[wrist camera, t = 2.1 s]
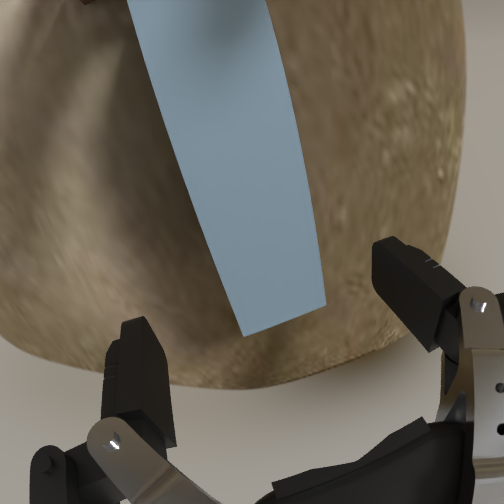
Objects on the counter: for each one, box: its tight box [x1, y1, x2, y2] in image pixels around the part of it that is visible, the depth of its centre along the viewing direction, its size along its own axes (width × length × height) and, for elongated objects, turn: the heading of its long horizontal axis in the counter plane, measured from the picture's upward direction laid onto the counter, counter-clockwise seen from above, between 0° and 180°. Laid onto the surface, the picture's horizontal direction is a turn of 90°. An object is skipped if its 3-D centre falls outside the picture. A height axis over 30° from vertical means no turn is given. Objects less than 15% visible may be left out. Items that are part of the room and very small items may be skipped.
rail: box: [127, 0, 326, 337], centre depth 9 cm, size 11×3×4 cm, turn 14°
